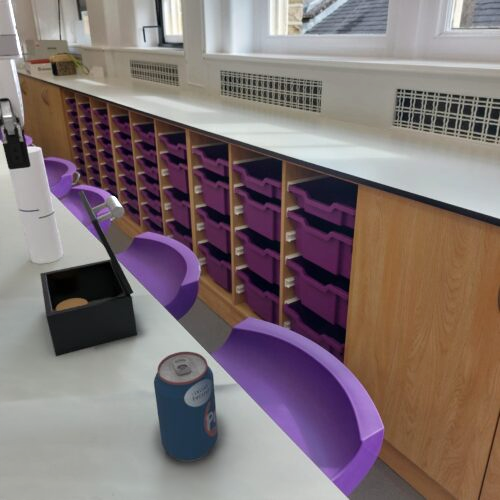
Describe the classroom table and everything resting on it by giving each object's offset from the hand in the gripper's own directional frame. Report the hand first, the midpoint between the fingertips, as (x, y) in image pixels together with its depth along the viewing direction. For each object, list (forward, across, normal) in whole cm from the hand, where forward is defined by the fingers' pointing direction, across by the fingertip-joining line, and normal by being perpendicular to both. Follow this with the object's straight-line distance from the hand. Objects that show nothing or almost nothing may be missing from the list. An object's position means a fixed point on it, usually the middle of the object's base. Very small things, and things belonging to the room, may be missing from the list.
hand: (19, 161), depth 80 cm
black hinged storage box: (+28, +11, +6) cm, 31 cm away
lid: (+12, +11, +10) cm, 19 cm away
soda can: (+28, +43, +13) cm, 53 cm away
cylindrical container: (+28, -25, +1) cm, 38 cm away
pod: (+27, +11, +3) cm, 30 cm away
